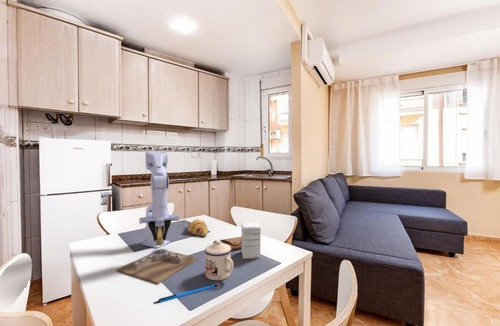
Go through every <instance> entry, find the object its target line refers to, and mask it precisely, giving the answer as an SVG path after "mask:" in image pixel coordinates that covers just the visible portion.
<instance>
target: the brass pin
mask: <svg viewBox="0 0 500 326" xmlns="http://www.w3.org/2000/svg"><path fill="white" fill-rule="evenodd" d="M163 244H164V226H163V225H159V226H156V245H163ZM163 246H164V245H163Z"/></svg>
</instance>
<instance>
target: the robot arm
mask: <svg viewBox="0 0 500 326" xmlns="http://www.w3.org/2000/svg"><path fill="white" fill-rule="evenodd" d="M168 155H169V153H168V151H166V150H165V151H163V150H161V151H160V150H146V151H145V167H146V170H148V171H150V173H151V174H150V175H151V177H150V190H151V191H150V192H151V195H152V196H151V204H150V205H149V206H148V207H147V208H146V211H145V216H144V217H139V225H141V224H145V225H146V226H145V227H144V230H143V243H142V245H143V246H147V247H151V248H155V249H159V248H160V247H162V246H165V245H167V244H170V241H169V240H167V235H168V232H169V228H170V226H171V223H172V221H176V222H178V221H180V215H179V214H170V212H169V206H168V190H169V188H170V179H169V175H168V174H167V171H166V170H167V167H168V161H169V160H168V159H169V157H168ZM159 225H163V226H164V244H163V245H156V226H159Z"/></svg>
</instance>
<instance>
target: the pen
mask: <svg viewBox="0 0 500 326" xmlns="http://www.w3.org/2000/svg"><path fill="white" fill-rule="evenodd" d="M218 286H220V284H212V285H208V286H204V287H200V288H197V289H193V290H190V291H186V292H182V293H177V294H172V295H169V296H165V297H161V298H158V300H157V301H154V302H153V304H158V303H159V304H160V303H163V302H167V301H171V300H175V299H177V298H181V297H186V296H189V295H192V294H196V293H199V292H203V291H206V290H211V289H214V288H216V287H218Z"/></svg>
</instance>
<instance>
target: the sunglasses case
mask: <svg viewBox="0 0 500 326" xmlns="http://www.w3.org/2000/svg"><path fill="white" fill-rule="evenodd" d="M219 240H220V241H221V243H224V244H227V245H229V246H230V247H231V252H235V251H236V252H237V251H242V250H241V249H242V247H241V246H242V236H238V237H230V238H226V239H219ZM215 241H216V240H214V241H213V243H212V244H214V243H215Z"/></svg>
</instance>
